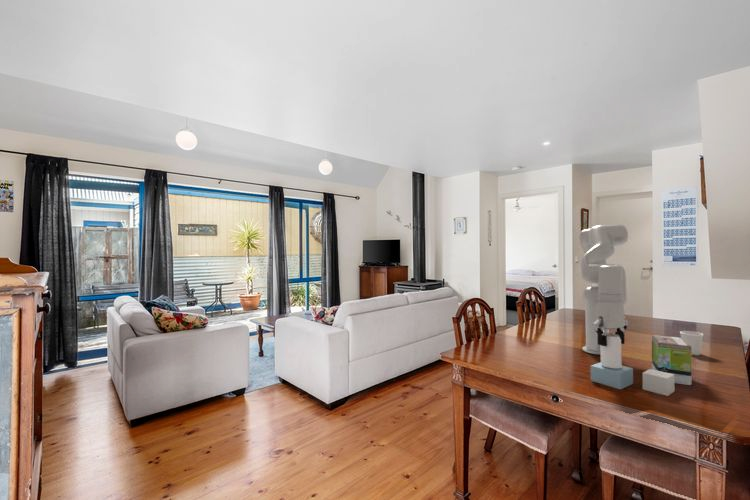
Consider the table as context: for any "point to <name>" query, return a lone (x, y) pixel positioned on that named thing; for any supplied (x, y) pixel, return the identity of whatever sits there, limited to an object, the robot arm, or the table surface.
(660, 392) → the grey block
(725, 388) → the table surface
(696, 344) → the dixie cup
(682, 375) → the tea box
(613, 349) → the can
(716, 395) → the table surface
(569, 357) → the table surface
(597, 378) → the pedestal block
